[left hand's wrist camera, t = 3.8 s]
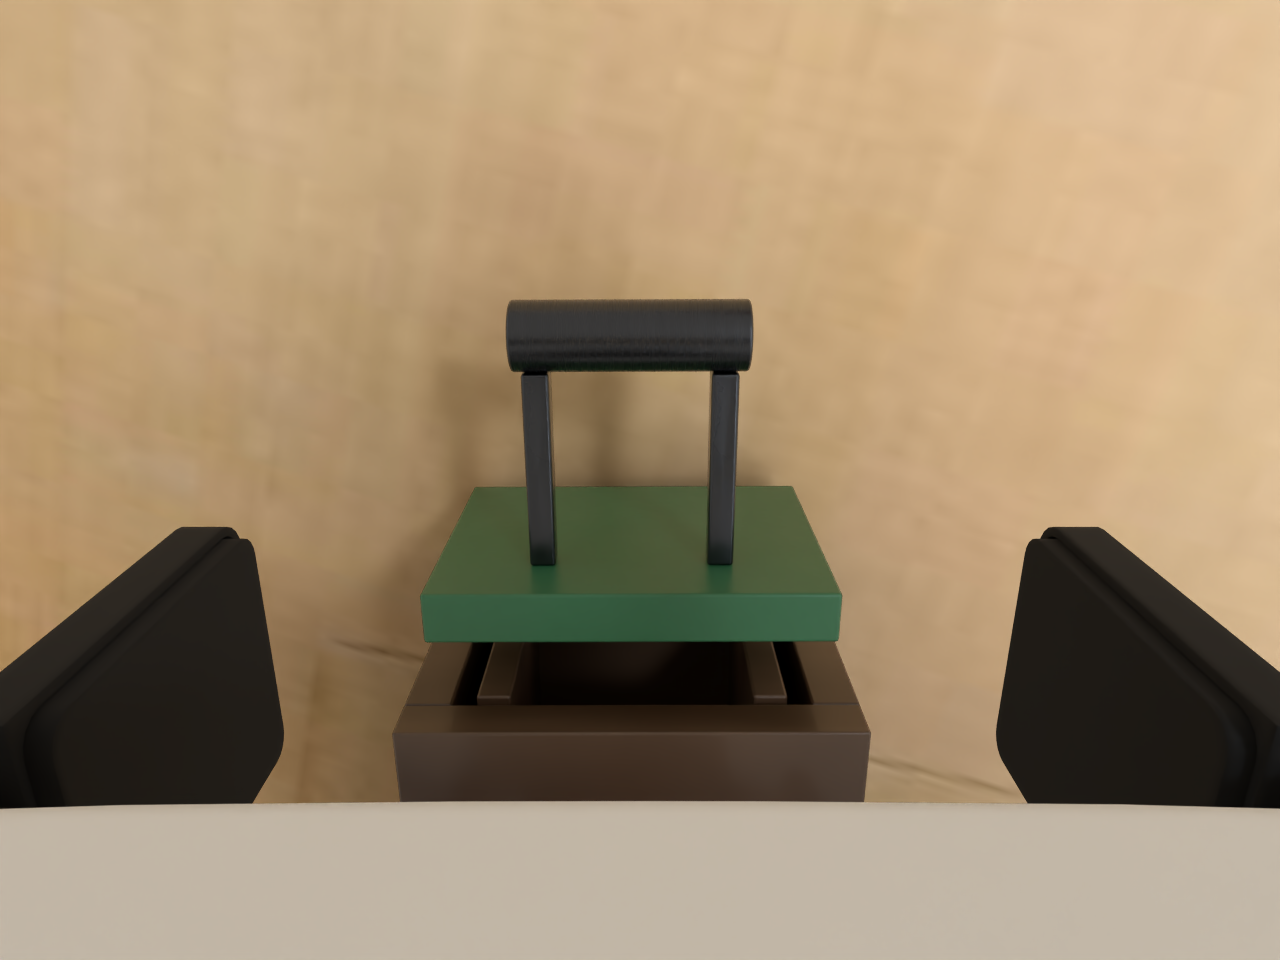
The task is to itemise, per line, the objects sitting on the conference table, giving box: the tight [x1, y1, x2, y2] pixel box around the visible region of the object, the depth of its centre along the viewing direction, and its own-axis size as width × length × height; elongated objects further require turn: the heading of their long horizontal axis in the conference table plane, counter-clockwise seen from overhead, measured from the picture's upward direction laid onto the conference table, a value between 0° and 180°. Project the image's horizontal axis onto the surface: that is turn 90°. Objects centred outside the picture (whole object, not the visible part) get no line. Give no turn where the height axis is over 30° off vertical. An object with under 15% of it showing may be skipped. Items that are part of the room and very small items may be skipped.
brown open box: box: [392, 641, 871, 802], centre depth 26 cm, size 16×10×9 cm, turn 0°
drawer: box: [420, 299, 842, 706], centre depth 24 cm, size 21×9×7 cm, turn 0°
